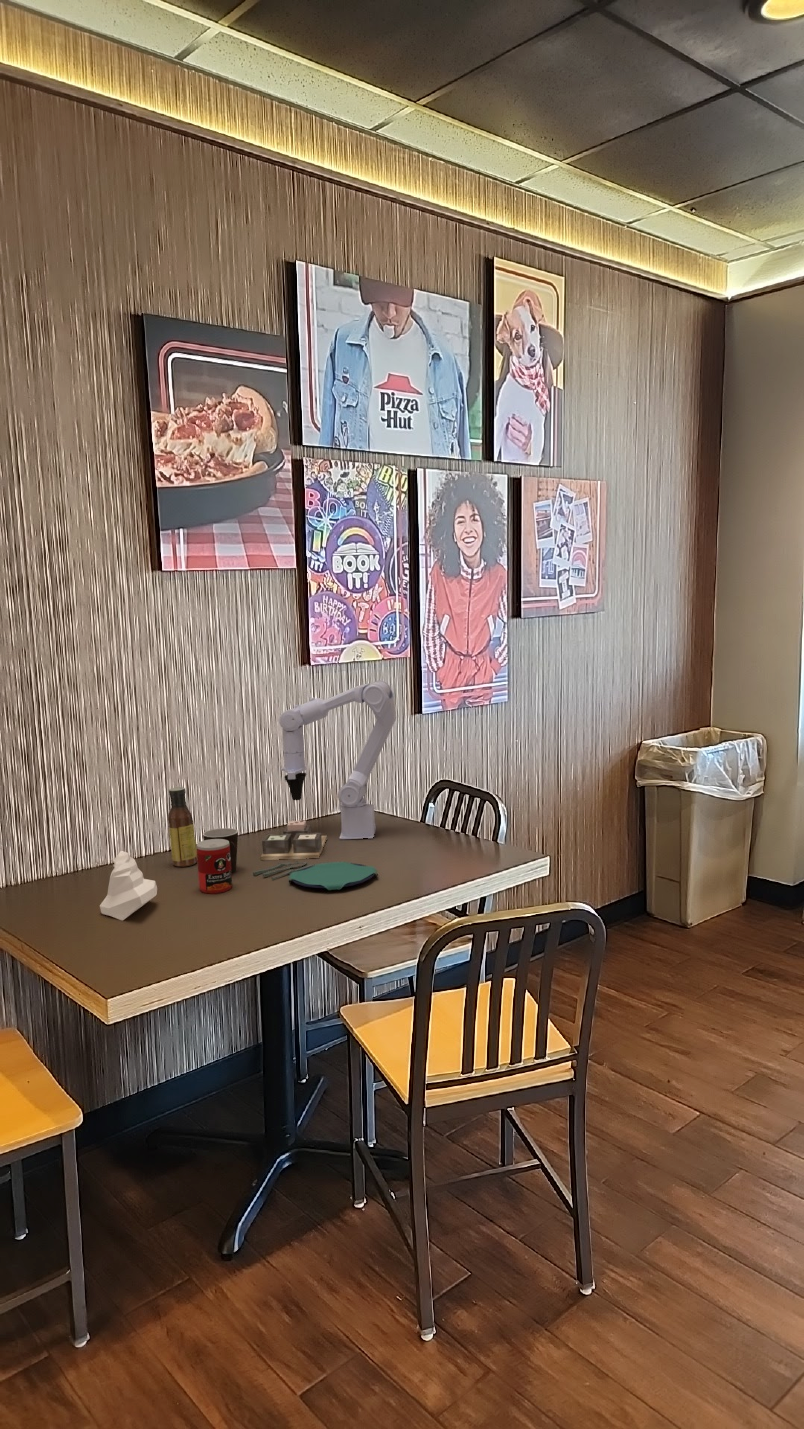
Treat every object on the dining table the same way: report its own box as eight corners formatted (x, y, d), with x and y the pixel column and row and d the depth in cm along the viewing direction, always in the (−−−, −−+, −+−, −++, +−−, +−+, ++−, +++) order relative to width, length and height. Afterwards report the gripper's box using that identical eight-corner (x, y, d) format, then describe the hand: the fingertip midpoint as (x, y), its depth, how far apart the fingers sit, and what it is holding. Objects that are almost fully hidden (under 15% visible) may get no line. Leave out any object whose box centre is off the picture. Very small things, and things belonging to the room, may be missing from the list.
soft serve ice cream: (92, 930, 205) (73, 866, 205) (122, 912, 220) (104, 852, 220) (145, 915, 203) (126, 851, 203) (172, 898, 218) (154, 838, 218)
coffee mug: (205, 868, 242) (203, 829, 241) (240, 865, 244) (237, 826, 242) (204, 881, 231) (202, 841, 229) (241, 878, 232) (238, 838, 231)
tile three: (306, 830, 263) (305, 820, 263) (304, 834, 259) (303, 824, 258) (290, 831, 263) (289, 820, 263) (287, 835, 259) (287, 824, 258)
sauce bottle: (200, 860, 249) (195, 785, 247) (193, 867, 243) (187, 790, 240) (176, 860, 250) (170, 786, 247) (168, 867, 244) (162, 791, 241)
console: (327, 839, 265) (326, 823, 265) (318, 858, 247) (317, 841, 246) (273, 840, 266) (272, 824, 265) (260, 860, 247) (259, 843, 247)
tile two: (287, 845, 254) (286, 834, 254) (284, 850, 250) (283, 839, 250) (270, 846, 255) (270, 835, 254) (267, 850, 250) (267, 839, 250)
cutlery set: (335, 899, 214) (334, 889, 214) (245, 879, 233) (244, 870, 233) (392, 877, 229) (391, 868, 229) (303, 860, 248) (303, 852, 248)
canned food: (207, 896, 220) (203, 849, 218) (194, 887, 226) (190, 842, 225) (238, 889, 224) (235, 843, 223) (224, 881, 231) (221, 836, 229)
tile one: (317, 844, 254) (316, 834, 254) (315, 849, 250) (314, 838, 249) (300, 845, 254) (300, 834, 254) (298, 849, 250) (297, 838, 250)
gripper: (283, 747, 274) (286, 794, 276) (275, 757, 260) (278, 806, 262) (308, 747, 274) (311, 793, 276) (301, 756, 260) (304, 805, 262)
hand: (296, 799), depth 269 cm, fingers closed
